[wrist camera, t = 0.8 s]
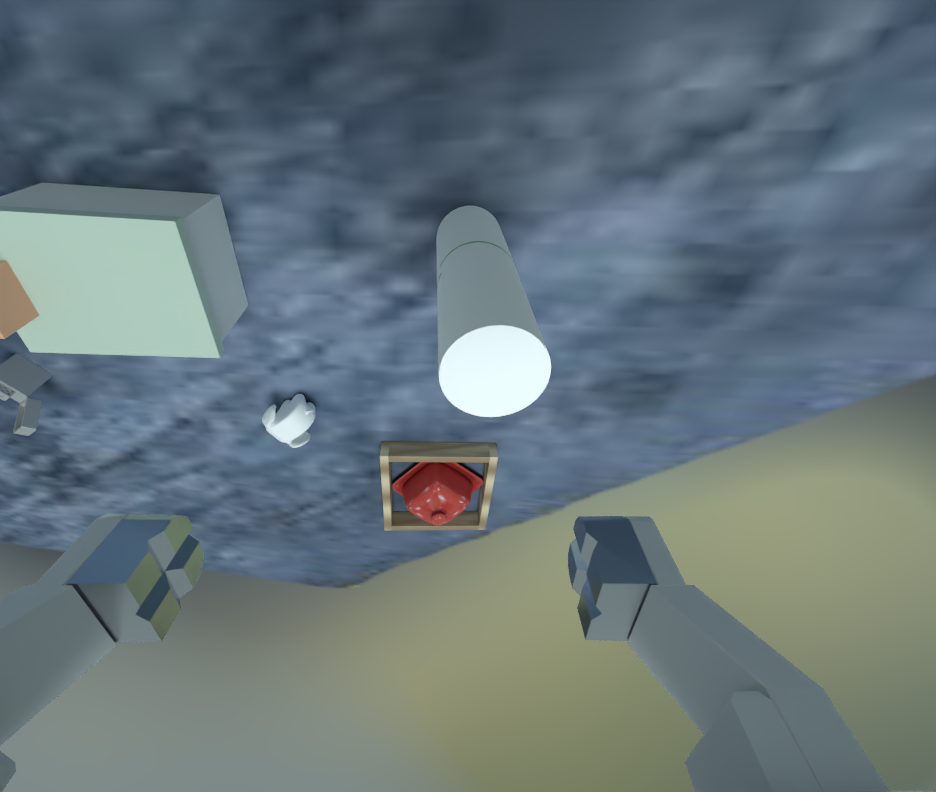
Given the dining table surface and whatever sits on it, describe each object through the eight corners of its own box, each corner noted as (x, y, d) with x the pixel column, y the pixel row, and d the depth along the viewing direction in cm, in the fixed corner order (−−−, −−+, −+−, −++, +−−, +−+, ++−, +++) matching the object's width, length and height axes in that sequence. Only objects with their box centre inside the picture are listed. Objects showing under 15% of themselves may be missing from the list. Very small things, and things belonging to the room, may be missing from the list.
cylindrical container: (430, 264, 48) (429, 409, 29) (443, 198, 44) (452, 314, 24) (491, 277, 50) (529, 423, 30) (510, 214, 45) (568, 336, 26)
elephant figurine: (256, 401, 59) (241, 431, 54) (301, 375, 56) (289, 404, 52) (292, 431, 62) (281, 462, 58) (335, 408, 60) (327, 438, 56)
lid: (-44, 200, 34) (-117, 223, 29) (185, 214, 36) (149, 238, 31) (43, 342, 42) (-4, 377, 37) (226, 348, 44) (203, 382, 39)
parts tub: (42, 182, 41) (-39, 209, 34) (219, 194, 42) (177, 222, 35) (99, 299, 48) (42, 341, 41) (248, 305, 50) (218, 347, 43)
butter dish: (435, 443, 66) (435, 487, 60) (486, 476, 72) (492, 519, 65) (388, 481, 71) (383, 525, 64) (439, 508, 76) (440, 552, 70)
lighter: (8, 359, 52) (-49, 400, 46) (16, 352, 52) (-41, 393, 45) (69, 396, 56) (24, 439, 50) (77, 390, 56) (32, 433, 49)
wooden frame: (381, 441, 65) (379, 456, 62) (495, 443, 66) (498, 457, 64) (386, 515, 76) (384, 530, 74) (483, 515, 78) (485, 529, 76)
